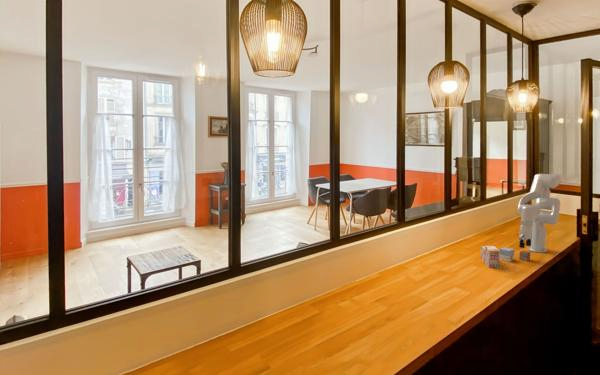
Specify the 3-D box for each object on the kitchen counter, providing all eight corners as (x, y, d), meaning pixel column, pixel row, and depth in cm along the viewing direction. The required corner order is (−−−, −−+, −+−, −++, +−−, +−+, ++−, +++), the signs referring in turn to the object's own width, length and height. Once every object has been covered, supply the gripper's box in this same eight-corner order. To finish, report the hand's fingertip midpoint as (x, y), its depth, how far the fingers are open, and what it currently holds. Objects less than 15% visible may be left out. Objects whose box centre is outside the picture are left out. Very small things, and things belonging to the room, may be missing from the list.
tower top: (504, 252, 280) (504, 247, 280) (514, 254, 274) (514, 249, 274) (499, 254, 276) (499, 248, 276) (508, 256, 271) (509, 251, 270)
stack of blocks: (480, 258, 280) (481, 242, 278) (489, 258, 279) (490, 242, 277) (488, 267, 259) (489, 250, 257) (498, 268, 258) (499, 250, 256)
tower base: (503, 257, 281) (504, 252, 280) (513, 260, 275) (514, 254, 274) (499, 259, 277) (499, 254, 276) (508, 262, 271) (509, 256, 270)
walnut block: (522, 258, 278) (523, 250, 278) (529, 260, 274) (530, 252, 274) (519, 259, 276) (519, 251, 275) (526, 261, 272) (527, 253, 271)
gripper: (527, 221, 280) (525, 244, 281) (515, 223, 270) (513, 247, 271) (538, 222, 273) (536, 246, 275) (526, 225, 263) (524, 249, 265)
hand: (525, 246), depth 273 cm, fingers open, 9 cm apart
